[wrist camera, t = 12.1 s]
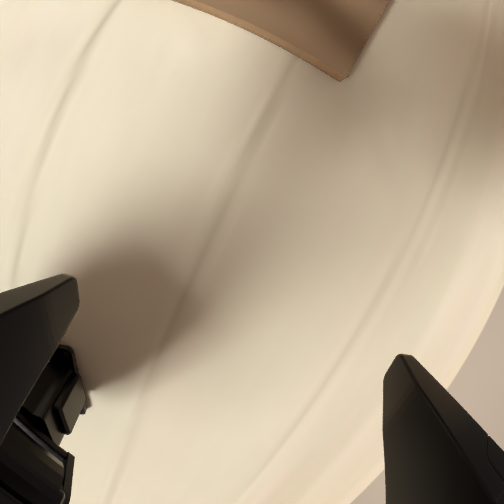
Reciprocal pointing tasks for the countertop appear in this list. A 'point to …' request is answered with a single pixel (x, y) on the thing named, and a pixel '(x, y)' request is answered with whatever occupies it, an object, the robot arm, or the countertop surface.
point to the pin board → (305, 26)
